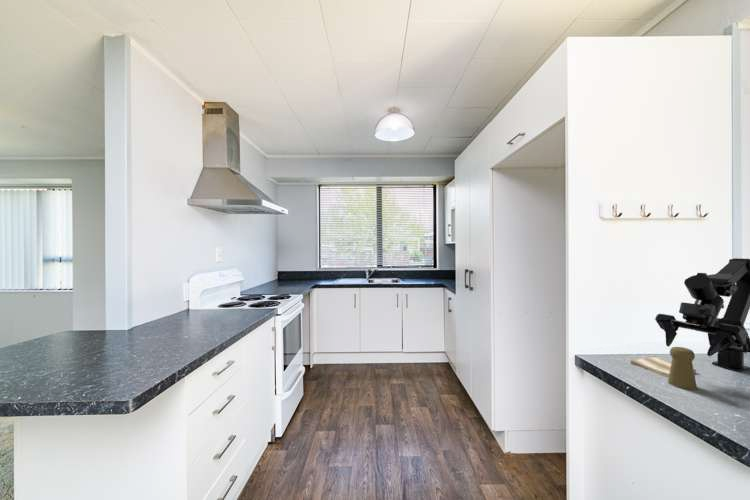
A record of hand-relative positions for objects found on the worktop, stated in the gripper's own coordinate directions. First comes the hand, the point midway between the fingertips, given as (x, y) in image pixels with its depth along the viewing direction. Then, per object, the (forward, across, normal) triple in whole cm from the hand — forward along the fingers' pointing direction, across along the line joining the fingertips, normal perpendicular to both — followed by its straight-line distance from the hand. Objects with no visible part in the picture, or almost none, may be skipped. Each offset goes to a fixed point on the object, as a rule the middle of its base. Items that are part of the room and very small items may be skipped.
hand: (686, 350), depth 91 cm
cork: (+9, 0, +5) cm, 10 cm away
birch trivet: (+2, -9, +12) cm, 15 cm away
